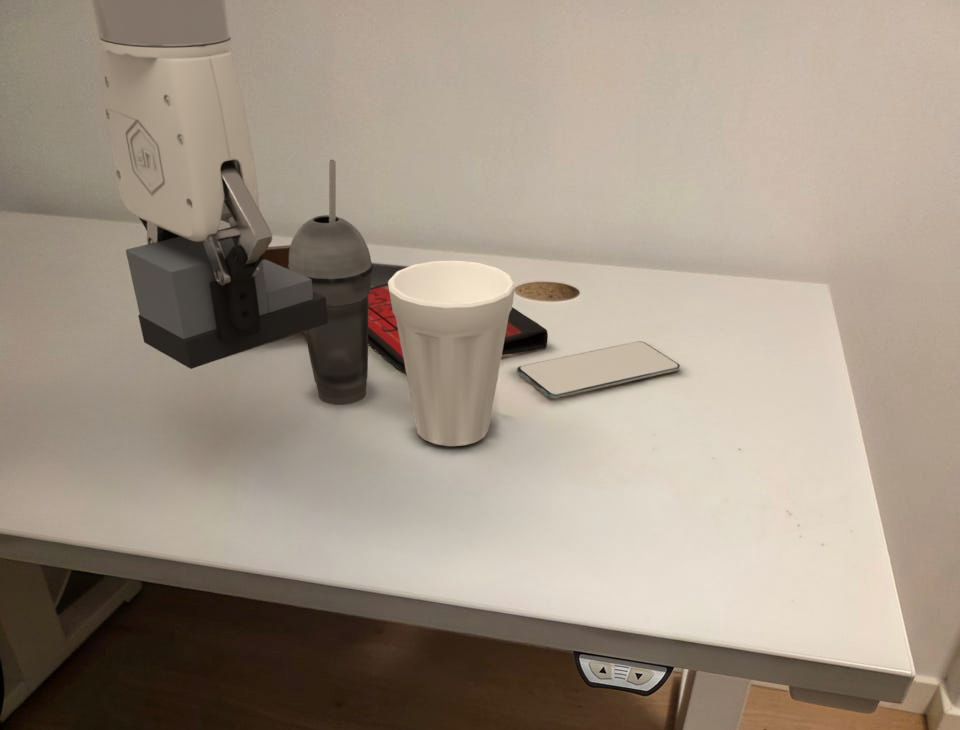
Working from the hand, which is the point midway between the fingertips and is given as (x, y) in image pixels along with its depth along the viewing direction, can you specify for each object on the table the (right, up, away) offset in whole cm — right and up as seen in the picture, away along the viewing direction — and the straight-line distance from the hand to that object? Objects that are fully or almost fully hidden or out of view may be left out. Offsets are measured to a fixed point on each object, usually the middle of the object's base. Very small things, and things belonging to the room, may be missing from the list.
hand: (212, 319), depth 64 cm
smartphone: (+31, +3, +24) cm, 39 cm away
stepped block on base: (+1, 0, +2) cm, 2 cm away
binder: (+14, +10, +32) cm, 37 cm away
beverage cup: (+6, 0, +20) cm, 21 cm away
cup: (+17, -5, +15) cm, 23 cm away
